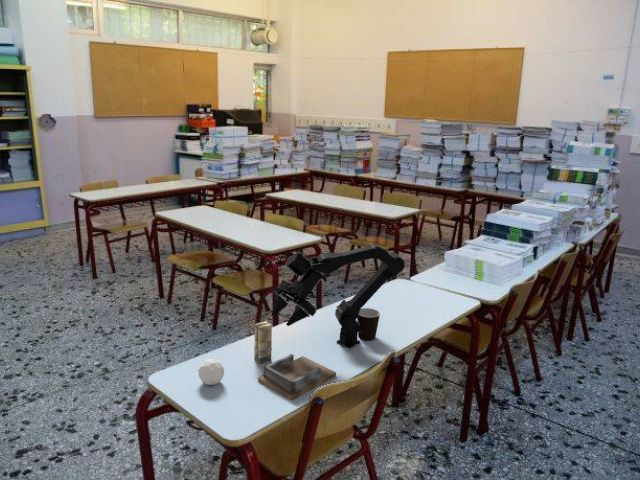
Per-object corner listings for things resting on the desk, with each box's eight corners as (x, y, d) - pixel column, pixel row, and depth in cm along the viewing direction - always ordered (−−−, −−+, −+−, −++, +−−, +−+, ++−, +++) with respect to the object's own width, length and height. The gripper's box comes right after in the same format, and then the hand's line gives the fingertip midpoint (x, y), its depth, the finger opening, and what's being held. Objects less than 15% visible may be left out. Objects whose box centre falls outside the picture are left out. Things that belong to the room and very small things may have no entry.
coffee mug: (377, 343, 188) (378, 318, 185) (353, 340, 189) (355, 315, 187) (379, 330, 199) (381, 306, 196) (357, 327, 200) (359, 304, 198)
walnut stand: (302, 359, 174) (303, 346, 173) (336, 375, 164) (336, 362, 163) (257, 380, 160) (258, 367, 159) (291, 400, 150) (292, 385, 149)
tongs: (265, 355, 176) (266, 320, 172) (271, 360, 173) (272, 324, 169) (254, 359, 173) (254, 324, 169) (259, 363, 170) (259, 327, 167)
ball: (210, 394, 156) (200, 383, 150) (200, 375, 161) (190, 363, 155) (231, 379, 158) (222, 368, 152) (221, 361, 163) (211, 349, 157)
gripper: (278, 263, 179) (251, 299, 176) (310, 279, 165) (280, 318, 161) (296, 281, 186) (270, 315, 182) (328, 297, 172) (300, 335, 168)
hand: (279, 320), depth 173 cm, fingers open, 9 cm apart
